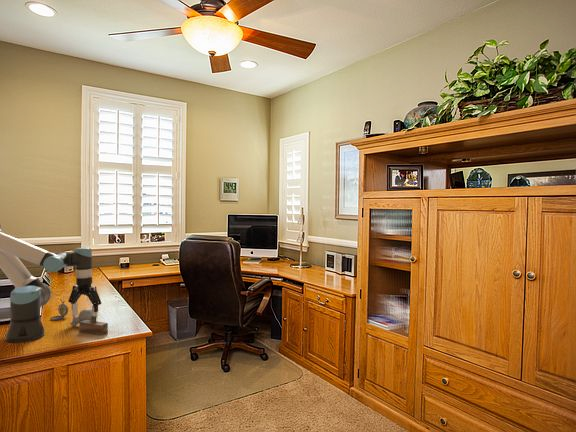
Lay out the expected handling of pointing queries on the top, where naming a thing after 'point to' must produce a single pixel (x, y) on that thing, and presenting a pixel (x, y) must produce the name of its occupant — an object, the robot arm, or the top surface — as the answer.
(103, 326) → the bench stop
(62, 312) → the pocket watch
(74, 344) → the top surface
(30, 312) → the robot arm
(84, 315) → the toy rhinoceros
